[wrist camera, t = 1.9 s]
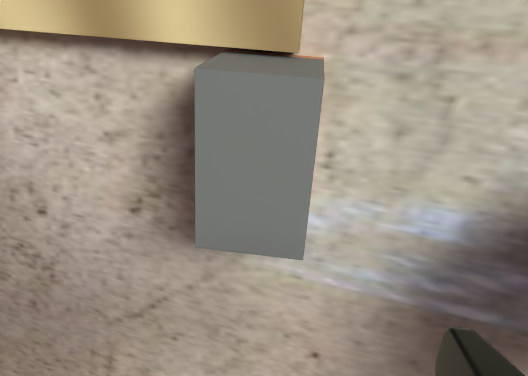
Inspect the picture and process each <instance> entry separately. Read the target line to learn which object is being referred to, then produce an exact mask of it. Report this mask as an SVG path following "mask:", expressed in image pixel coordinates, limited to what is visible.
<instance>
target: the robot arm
mask: <svg viewBox="0 0 528 376" xmlns="http://www.w3.org/2000/svg"><path fill="white" fill-rule="evenodd" d="M435 374H436V376H525V375H524V374H523V373H522V372H520V371H519V370H518V369H517V368H516V367H515V366H514V365H512V364H511V363H510V362H509V361H508V360H507V359H506V358H505V357H503V356H502V355H501V354H500V353H499V352H498V351H497V350H495V349H494V348H493V347H492V346H491V345H490V344H489V343H488V342H486V341H485V340H484V339H483V338H482V337H481V336H480V335H478V334H477V333H476V332H475V331H473V330H472V329H467V328H459V327H449V328H447V329H446V331H445V333H444V336H443V339H442V343H441V346H440V349H439V353H438V356H437V359H436V365H435Z"/></svg>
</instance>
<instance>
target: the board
mask: <svg viewBox="0 0 528 376" xmlns="http://www.w3.org/2000/svg"><path fill="white" fill-rule="evenodd" d="M303 7H304V0H0V29H11V30H23V31H36V32H48V33H60V34H72V35H84V36H97V37H109V38H121V39H133V40H145V41H158V42H170V43H182V44H194V45H207V46H219V47H231V48H243V49H255V50H268V51H280V52H292V53H298V52H299V49H300V39H301V28H302V18H303Z"/></svg>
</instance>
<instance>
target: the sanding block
mask: <svg viewBox="0 0 528 376" xmlns="http://www.w3.org/2000/svg"><path fill="white" fill-rule="evenodd" d="M323 87H324V58H322V57H310V56H297V55H285V54H272V53H260V52H248V51H235V50H225V51H223V52H221V53H220V54H218V55H216V56H215V57H213V58H211V59H209V60H208V61H206V62H204V63H203V64H201V65H199V66H198V67H196V68H195V247H196V248H205V249H213V250H221V251H230V252H238V253H246V254H255V255H263V256H271V257H280V258H288V259H296V260H303V256H304V247H305V239H306V230H307V222H308V214H309V205H310V197H311V188H312V180H313V171H314V163H315V154H316V146H317V138H318V129H319V121H320V112H321V104H322V95H323Z"/></svg>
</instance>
